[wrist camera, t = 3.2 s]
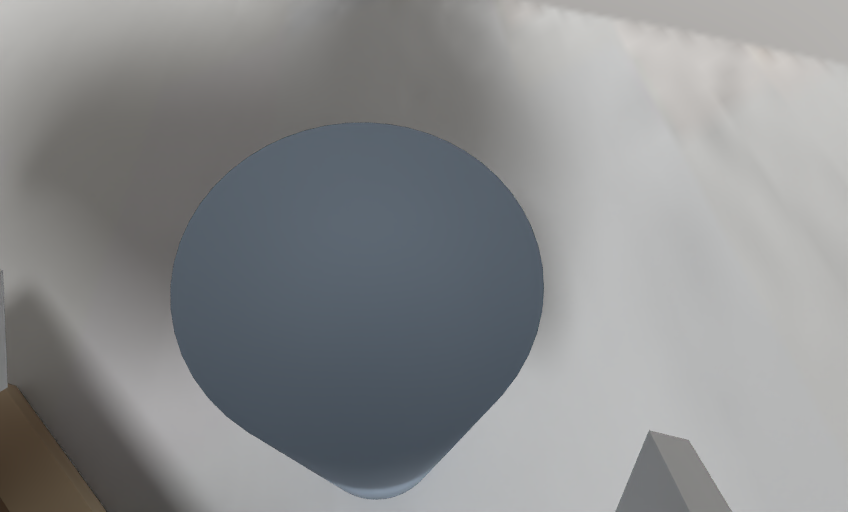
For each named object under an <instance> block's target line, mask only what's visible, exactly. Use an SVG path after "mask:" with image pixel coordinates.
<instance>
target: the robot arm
mask: <svg viewBox="0 0 848 512" xmlns="http://www.w3.org/2000/svg"><path fill="white" fill-rule="evenodd" d="M7 387H8V380H7V356H6V333H5V309H4V285H3V270H0V392H1V391H2V390H4V389H6V388H7ZM616 512H732V511H731V509H730V508H729V506H728V504H727V503H726V501H725V499H724V498H723V496H722V494H721V493H720V491H719V489H718V488H717V486H716V484H715V483H714V481H713V479H712V478H711V476H710V474H709V473H708V471H707V470H706V468H705V466H704V465H703V463H702V461H701V460H700V458H699V456H698V455H697V453H696V451H695V450H694V448H693V446H692V445H691V443H690V441H689V440H686V439H682V438H678V437H673V436H669V435H665V434H661V433H657V432H653V431H649V432H648V434H647V437H646V439H645V441H644V444H643V446H642V449H641V451H640V454H639V456H638V458H637V461H636V463H635V466H634V468H633V470H632V473H631V475H630V478H629V480H628V483H627V485H626V487H625V490H624V492H623V495H622V497H621V499H620V502H619V504H618V507H617V509H616Z"/></svg>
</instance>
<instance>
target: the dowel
mask: <svg viewBox="0 0 848 512" xmlns="http://www.w3.org/2000/svg"><path fill="white" fill-rule="evenodd" d="M543 293H544V283H543V267H542V262H541V257H540V252H539V248H538V244H537V241H536V239H535V236H534V233H533V230H532V227H531V225H530V223H529V221H528V219H527V217H526V215H525V213H524V211H523V209H522V208H521V206H520V205H519V203H518V202H517V200H516V199H515V197H514V196H513V195H512V193H511V192H510V190H509V189H508V188H507V187H506V186H505V185H504V184H503V183H502V181H501V180H500V179H499V178H498V177H497V176H496V175H495V174H494V173H493V172H492V171H490V170H489V169H488V168H487V167H486V166H485V165H484V164H483V163H481V162H480V161H479V160H477V159H476V158H474V157H473V156H471V155H470V154H469V153H467V152H466V151H464V150H462V149H460V148H458V147H457V146H455V145H453V144H451V143H449V142H447V141H445V140H443V139H440V138H438V137H435V136H433V135H431V134H428V133H425V132H421V131H418V130H414V129H411V128H407V127H401V126H396V125H390V124H380V123H343V124H335V125H327V126H322V127H318V128H313V129H309V130H305V131H302V132H299V133H296V134H293V135H290V136H287V137H285V138H283V139H280V140H278V141H276V142H274V143H272V144H270V145H268V146H265V147H264V148H262V149H261V150H259V151H257V152H256V153H254V154H252V155H251V156H249V157H247V158H246V159H245V160H243V161H242V162H241V163H239V164H238V165H237V166H236V167H234V168H233V169H232V170H230V171H229V172H228V173H227V174H226V175H225V176H224V177H223V178H222V179H221V180H220V181H219V182H218V183H217V184H216V185H215V186H214V187H213V188H212V190H211V191H210V192H209V193H208V195H207V196H206V197H205V198H204V200H203V201H202V202H201V203H200V205H199V207H198V208H197V210H196V211H195V213H194V215H193V216H192V218H191V220H190V221H189V223H188V225H187V228H186V230H185V232H184V234H183V237H182V239H181V241H180V244H179V247H178V251H177V254H176V258H175V261H174V266H173V273H172V280H171V314H172V320H173V326H174V332H175V335H176V338H177V342H178V345H179V348H180V351H181V354H182V356H183V358H184V360H185V362H186V364H187V366H188V368H189V370H190V372H191V374H192V376H193V378H194V379H195V380H196V382H197V383H198V385H199V386H200V387H201V389H202V390H203V392H204V393H205V394H206V396H207V397H208V398H209V399H210V400H211V401H212V402H213V403H214V404H215V405H216V406H217V407H218V408H219V409H220V410H221V411H222V412H223V413H224V414H225V415H226V416H227V417H228V418H229V419H231V420H232V421H233V422H235V423H236V424H238V425H239V426H240V427H242V428H243V429H244V430H246V431H247V432H248V433H250V434H252V435H253V436H255V437H257V438H258V439H260V440H262V441H263V442H265V443H267V444H268V445H270V446H272V447H273V448H275V449H277V450H278V451H280V452H281V453H283V454H285V455H286V456H288V457H290V458H291V459H293V460H295V461H296V462H298V463H300V464H301V465H303V466H305V467H306V468H308V469H310V470H311V471H313V472H314V473H316V474H318V475H319V476H321V477H323V478H324V479H326V480H328V481H329V482H331V483H333V484H334V485H336V486H338V487H339V488H341V489H343V490H344V491H346V492H348V493H350V494H352V495H355V496H357V497H361V498H366V499H387V498H391V497H395V496H397V495H400V494H403V493H404V492H406V491H408V490H410V489H411V488H413V487H414V486H415V485H417V484H418V483H419V482H420V481H421V480H422V479H423V478H424V477H425V476H426V475H427V474H428V473H429V472H430V471H431V470H432V468H433V467H434V466H435V465H436V464H437V463H438V462H439V461H440V460H441V459H442V458H443V457H444V456H445V455H446V454H447V453H448V452H449V451H450V450H451V449H452V447H453V446H454V445H455V444H456V443H457V442H458V441H459V440H460V439H461V438H462V437H463V436H464V435H465V434H466V433H467V432H468V431H469V430H470V429H471V427H472V426H473V425H474V424H475V423H476V422H477V421H478V420H479V419H480V418H481V417H482V416H483V415H484V414H485V413H486V412H487V411H488V410H489V409H490V407H491V406H492V405H493V404H494V403H495V402H496V401H497V400H498V399H499V398H500V397H501V396H502V395H503V393H504V392H505V391H506V389H507V388H508V387H509V386H510V384H511V383H512V382H513V380H514V379H515V378H516V376H517V375H518V373H519V371H520V369H521V368H522V366H523V364H524V362H525V360H526V359H527V357H528V355H529V353H530V350H531V347H532V345H533V342H534V340H535V337H536V334H537V331H538V327H539V322H540V318H541V313H542V306H543Z"/></svg>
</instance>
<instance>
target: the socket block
mask: <svg viewBox="0 0 848 512" xmlns="http://www.w3.org/2000/svg"><path fill="white" fill-rule="evenodd" d="M0 512H106V510H105V509H104V507H103V506H102V505H101V503H100V502H99V501H98V499H97V498H96V496H95V495H94V494H93V492H92V491H91V489H90V488H89V487H88V485H87V484H86V482H85V481H84V480H83V478H82V477H81V475H80V474H79V473H78V471H77V470H76V468H75V467H74V466H73V464H72V463H71V462H70V460H69V459H68V457H67V456H66V455H65V453H64V452H63V450H62V449H61V448H60V446H59V445H58V443H57V442H56V441H55V439H54V438H53V436H52V435H51V434H50V432H49V431H48V429H47V428H46V427H45V425H44V424H43V423H42V421H41V420H40V418H39V417H38V416H37V414H36V413H35V411H34V410H33V409H32V407H31V406H30V404H29V403H28V402H27V400H26V399H25V397H24V396H23V395H22V393H21V392H20V390H19V389H18V388H17V386H14V385H11V384H8V387H7V388H6V389H4V390H2V391H1V392H0Z"/></svg>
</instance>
